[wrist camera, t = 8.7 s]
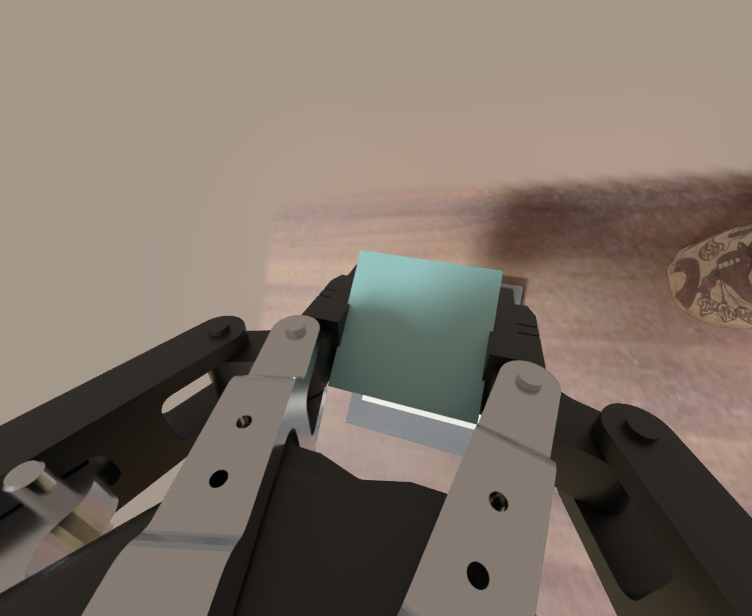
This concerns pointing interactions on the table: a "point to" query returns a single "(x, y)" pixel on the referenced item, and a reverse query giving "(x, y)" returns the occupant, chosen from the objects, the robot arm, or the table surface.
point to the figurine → (716, 278)
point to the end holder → (415, 418)
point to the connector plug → (418, 333)
